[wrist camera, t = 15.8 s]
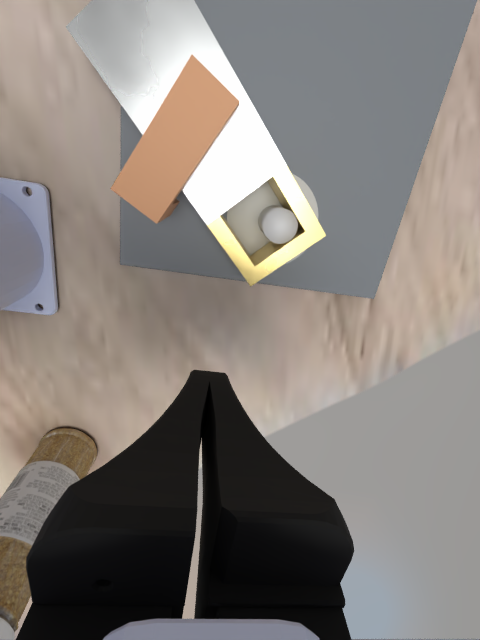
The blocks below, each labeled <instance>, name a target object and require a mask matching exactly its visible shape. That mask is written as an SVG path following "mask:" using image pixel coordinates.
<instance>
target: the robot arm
mask: <svg viewBox="0 0 480 640" xmlns="http://www.w3.org/2000/svg"><path fill="white" fill-rule="evenodd" d="M27 187H29V188H30V189H31V191H32V195H31V196H29V195H28V194H27V192H26V188H27ZM38 304H41V305H42V306H43V309H41V308H40V307H39V306H38ZM0 310H7V311H16V312H25V313H34V314H42V315H52V314H54V313H56V312H57V310H58V300H57V287H56V275H55V262H54V249H53V237H52V224H51V212H50V199H49V192H48V190H47V188H46V187H45V186H44V185H42V184H39V183H34V182H28V181H21V180H15V179H9V178H3V177H0ZM201 438H202V470H203V508H202V523H201V537H200V551H199V565H198V578H197V591H196V604H195V618H194V619H182V614H183V608H184V605H185V598H186V592H187V585H188V579H189V572H190V566H191V558H192V553H193V546H194V540H195V532H196V517H197V494H198V493H197V492H198V467H199V449H200V444H201ZM353 553H354V546H353V541H352V538H351V536H350V533H349V530H348V527H347V525H346V523H345V520H344V518H343V516H342V514H341V512H340V510H339V508H338V506H337V504H336V502H335V500H334V499H333V498H332V497H331V496H329V495H327V494H326V493H325V492H323V491H322V490H321V489H320V488H318V487H317V486H315V485H314V484H313V483H311V482H310V481H308V480H307V479H306V478H305V477H303V476H302V475H301V474H300V473H299V472H298V471H297V470H295V469H294V468H293V467H292V466H291V465H290V464H289V463H287V462H286V461H285V460H284V459H283V458H282V457H281V456H280V455H279V454H278V453H277V452H276V451H275V450H274V449H273V448H272V446H271V445H270V444H269V443H268V442H267V441H266V440H265V438H264V437H263V436H262V435H261V433H260V432H259V431H258V429H257V428H256V427H255V425H254V424H253V423H252V421H251V420H250V418H249V417H248V415H247V414H246V412H245V410H244V409H243V407H242V405H241V403H240V402H239V400H238V398H237V396H236V394H235V392H234V390H233V388H232V386H231V384H230V381H229V379H228V376H227V375H226V373H220V372H210V371H200V370H193V371H192V372H191V373H190V376H189V378H188V380H187V382H186V384H185V385H184V387H183V389H182V390H181V392H180V393H179V394H178V396H177V397H176V399H175V400H174V401H173V403H172V404H171V405H170V406H169V408H168V409H167V410H166V411H165V412H164V414H163V415H162V416H161V417H160V418H159V419H158V420H157V421H156V422H155V423H154V424H153V425H152V426H151V427H150V428H149V429H148V430H147V431H146V432H145V433H144V434H143V435H142V436H141V437H140V438H139V439H137V440H136V441H135V442H134V443H133V444H132V445H130V446H129V447H128V448H127V449H125V450H124V451H123V452H121V453H120V454H119V455H117V456H116V457H114V458H113V459H112V460H110V461H109V462H108V463H106V464H105V465H103V466H102V467H100V468H99V469H97V470H96V471H94V472H92V473H91V474H89V475H87V476H86V477H84V478H82V479H81V480H79V481H77V482H75V483H74V484H72V485H70V486H69V487H68V488H67V489H66V491H65V492H64V493H63V495H62V496H61V498H60V499H59V500H58V502H57V503H56V505H55V506H54V508H53V509H52V511H51V512H50V514H49V515H48V517H47V518H46V520H45V522H44V523H43V525H42V527H41V529H40V531H39V533H38V535H37V537H36V539H35V541H34V543H33V545H32V547H31V549H30V551H29V553H28V555H27V557H26V571H27V576H28V581H29V587H30V592H31V597H32V602H33V603H32V605H31V607H30V610H29V612H28V614H27V616H26V618H25V621H24V623H23V625H22V627H21V629H20V632H19V634H18V636H17V638H16V640H480V639H351V637H350V634H349V630H348V627H347V624H346V620H345V616H344V613H343V609H342V608H344V606H345V598H344V595H343V591H342V588H341V585H340V582H341V580H342V578H343V576H344V574H345V572H346V570H347V568H348V566H349V564H350V562H351V559H352V556H353Z"/></svg>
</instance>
